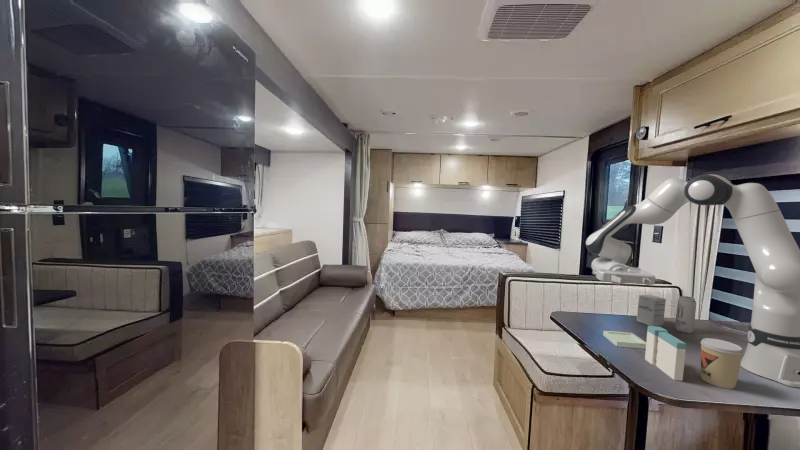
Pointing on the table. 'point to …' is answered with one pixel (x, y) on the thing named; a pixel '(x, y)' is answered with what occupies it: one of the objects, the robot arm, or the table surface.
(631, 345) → the tray
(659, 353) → the teal and white box
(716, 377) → the coffee cup
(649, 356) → the white teal-topped block
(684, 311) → the energy drink can
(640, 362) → the table surface
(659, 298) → the supplement box
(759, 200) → the robot arm
